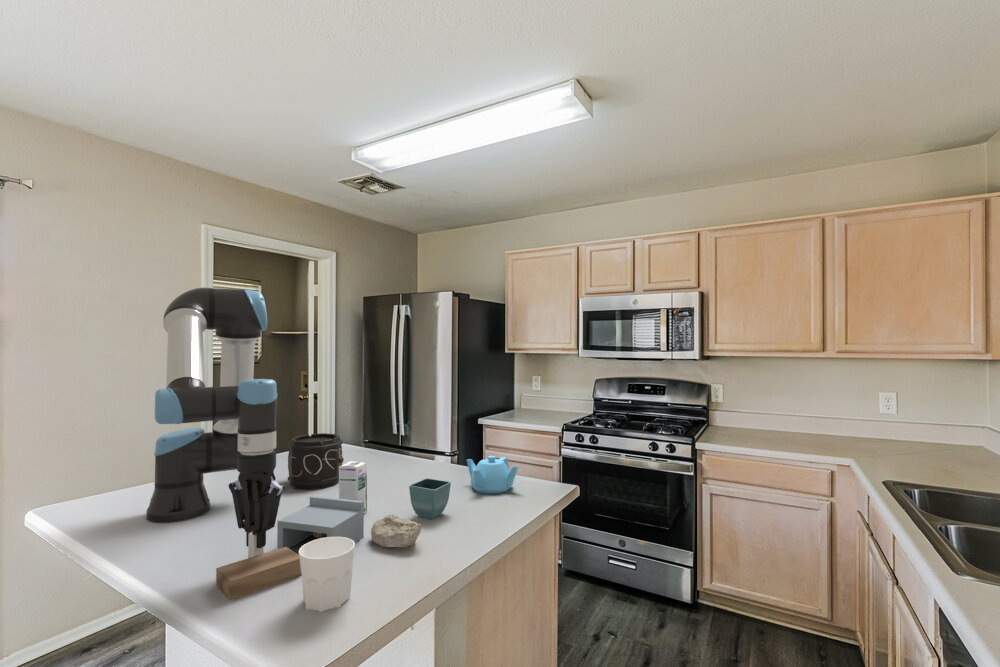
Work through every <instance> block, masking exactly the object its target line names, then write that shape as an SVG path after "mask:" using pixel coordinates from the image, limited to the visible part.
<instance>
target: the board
mask: <svg viewBox="0 0 1000 667" xmlns="http://www.w3.org/2000/svg"><path fill="white" fill-rule="evenodd" d="M215 571H216V572H215V573H216V574H215V579H216V580H215V581H216V582H215V586H216V589H218V590H219V591H220V592H221V593H222V594H223V595H225V597H226V598H228V600H229V601H235V600H237V599H239V598H242V597H245V596H249V595H250V594H253V593H256V592H259V591H261V590H265V589H268V588H270V587H273V586H276V585H278V584H281V583H284V582H287V581H289V580H292V579H295V578H298V577H300V576H301V577H302V573H301V567H300V559H299V553H297V552H295V551H293V550H292V549H291V548H287V547H283V548H280V549H277V548H276V549H274V550H271V551H267V552H265V553H264V554H261V555H257V556H254V557H251V558H248V557H247V558H245V559H242V560H239V561H236V562H232V563H228V564H225V565H222V566H218V567H216V570H215Z"/></svg>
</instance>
